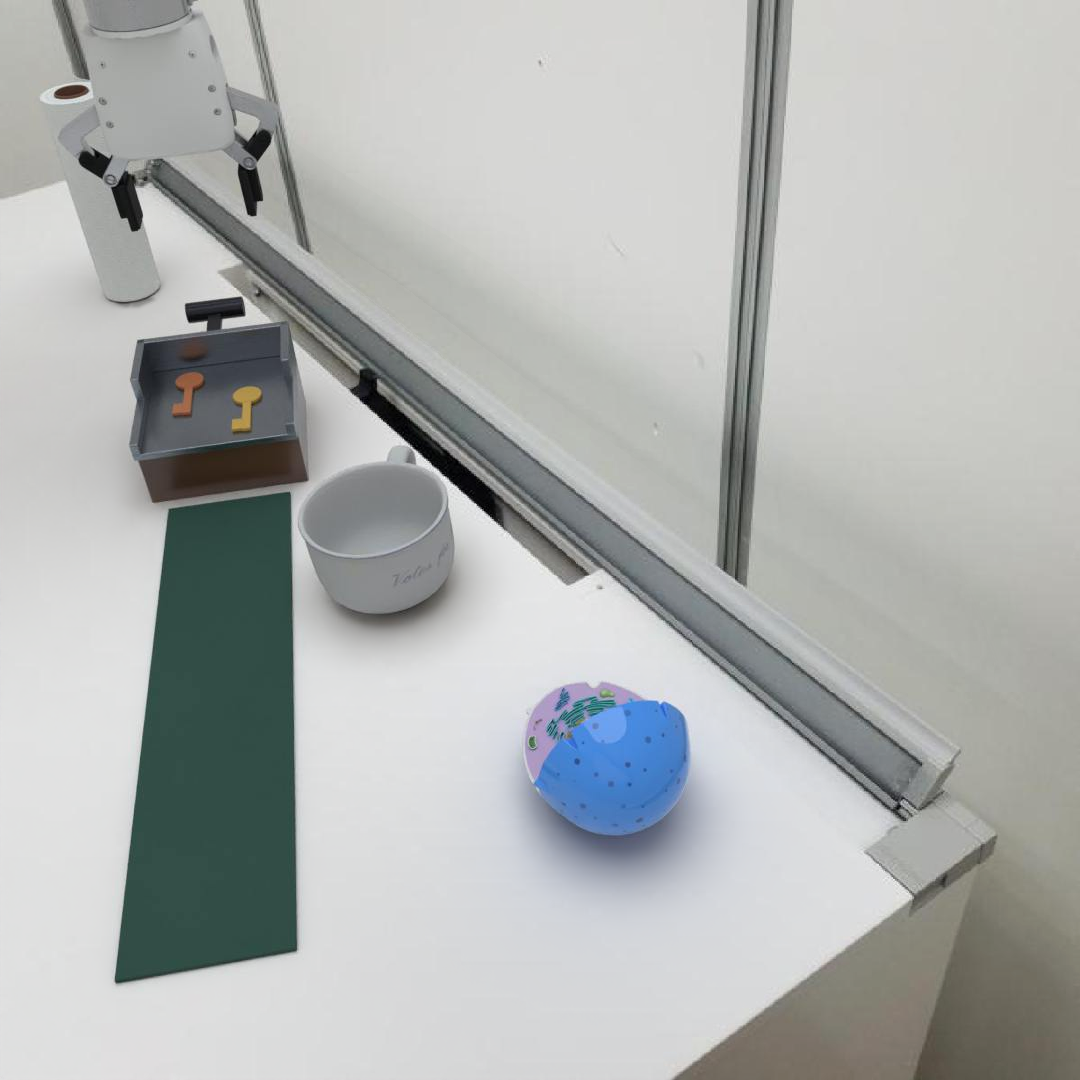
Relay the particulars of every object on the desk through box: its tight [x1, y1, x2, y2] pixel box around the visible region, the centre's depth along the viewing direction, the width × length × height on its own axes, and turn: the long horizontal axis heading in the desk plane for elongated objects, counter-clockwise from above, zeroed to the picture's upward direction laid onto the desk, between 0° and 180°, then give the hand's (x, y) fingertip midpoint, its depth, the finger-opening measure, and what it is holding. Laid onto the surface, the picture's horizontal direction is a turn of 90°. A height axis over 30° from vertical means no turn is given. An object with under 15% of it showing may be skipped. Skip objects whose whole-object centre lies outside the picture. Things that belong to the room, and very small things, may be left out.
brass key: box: [232, 386, 262, 432], centre depth 96 cm, size 6×2×1 cm, turn 10°
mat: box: [114, 491, 298, 984], centre depth 80 cm, size 42×10×1 cm, turn 10°
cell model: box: [521, 680, 692, 837], centre depth 69 cm, size 10×12×10 cm
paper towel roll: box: [38, 74, 161, 303], centre depth 118 cm, size 7×6×21 cm
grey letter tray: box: [128, 295, 297, 462], centre depth 98 cm, size 18×13×4 cm
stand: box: [137, 359, 309, 503], centre depth 100 cm, size 12×13×5 cm
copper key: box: [172, 372, 204, 416], centre depth 98 cm, size 6×2×1 cm, turn 10°
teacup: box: [297, 444, 455, 615], centre depth 86 cm, size 14×11×8 cm
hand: (195, 216), depth 97 cm, fingers open, 9 cm apart
